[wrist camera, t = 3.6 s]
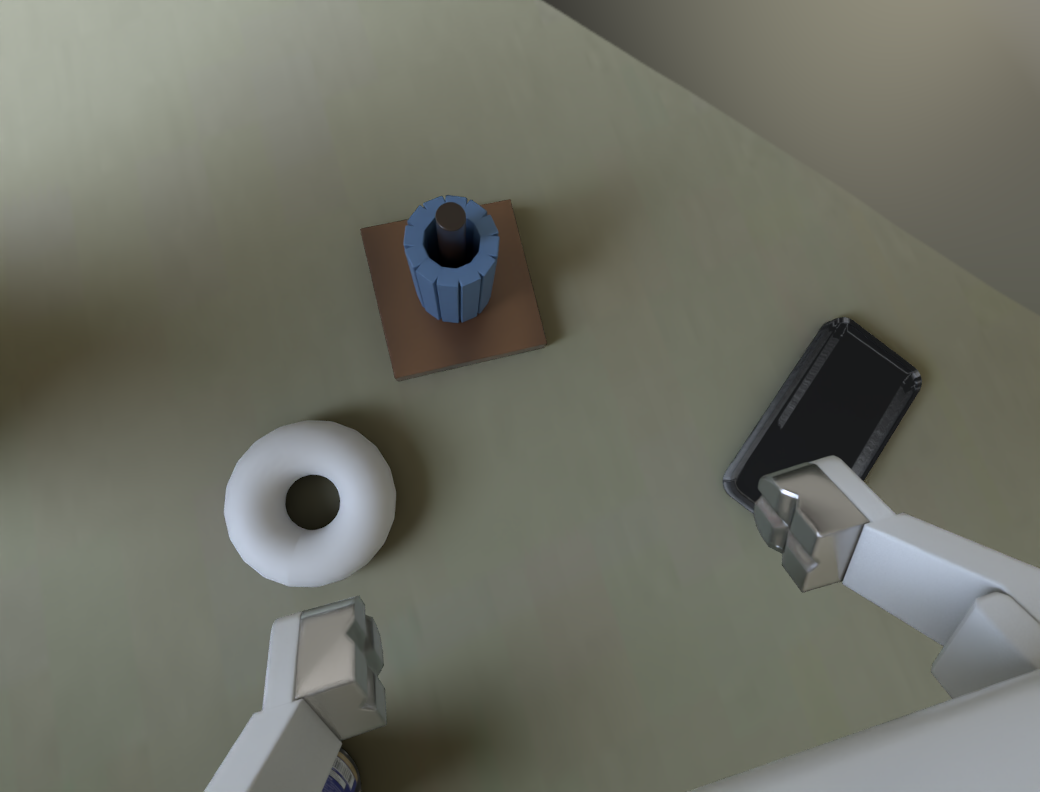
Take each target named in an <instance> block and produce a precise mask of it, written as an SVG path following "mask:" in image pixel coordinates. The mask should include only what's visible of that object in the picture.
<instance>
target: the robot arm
mask: <svg viewBox="0 0 1040 792" xmlns="http://www.w3.org/2000/svg"><path fill="white" fill-rule="evenodd" d="M758 490H759V491H760V492H761V494H762V495H761V496H760V498H759V499H758V500H757V501H756V502H755V505H754V513H753V514H754V518H755V522H756V526H757V529H758V531H759V533H760V535H761V537H762V538H763V539H764V541H765V542H766V544H767V545H768V547H770V548H772V549H774V550H776V551H778V552H780V553H782V566H783V567H784V569H785V570H786V571H787V573H788V574H789V576H790V577H791V578H792V580H793V581H794V582H795V584H796V585H797V587H798V588H799V589H800V591H801V592H802V593H803V592H806V591H810V590H813V589H817V588H820V587H824V586H827V585H831V584H834V583H838V582H841V581H843V582H842V584H843V585H845V586H847V587H848V588H850V589H852V590H853V591H855V592H856V593H858V594H860V595H861V596H863V597H865V598H866V599H868V600H869V601H871V602H873V603H874V604H876V605H878V606H879V607H881V608H882V609H884V610H886V611H887V612H889V613H890V614H892V615H894V616H895V617H897V618H899V619H900V620H902V621H903V622H905V623H907V624H908V625H910V626H912V627H913V628H915V629H916V630H918V631H920V632H921V633H923V634H925V635H926V636H928V637H929V638H931V639H933V640H934V641H936V642H938V643H939V644H941V645H942V646H944V647H943V648H942V650H941V651H940V653H939V654H938V656H937V657H936V659H935V660H934V662H933V663H932V668H931V673H932V674H933V675H934V677H935V678H936V679H937V680H938V682H939V683H940V684H941V685H942V687H943V688H944V689H945V690H946V692H947V693H948V694H949V695H950V697H951V698H952V699H951V700H948V701H945V702H942V703H939V704H936V705H933V706H930V707H928V708H925V709H922V710H919V711H916V712H913V713H910V714H908V715H905V716H902V717H899V718H896V719H893V720H890V721H887V722H885V723H882V724H879V725H876V726H873V727H870V728H867V729H864V730H862V731H859V732H856V733H853V734H850V735H847V736H844V737H841V738H839V739H836V740H833V741H830V742H827V743H824V744H821V745H818V746H816V747H813V748H810V749H807V750H804V751H801V752H798V753H796V754H793V755H790V756H787V757H784V758H781V759H778V760H775V761H773V762H770V763H767V764H764V765H761V766H758V767H755V768H752V769H750V770H747V771H744V772H741V773H738V774H735V775H732V776H729V777H727V778H724V779H721V780H718V781H715V782H712V783H709V784H707V785H704V786H701V787H698V788H695V789H692V790H689V791H686V792H1040V568H1037V567H1035V566H1032V565H1030V564H1027V563H1025V562H1023V561H1020V560H1018V559H1015V558H1013V557H1010V556H1008V555H1006V554H1003V553H1001V552H998V551H996V550H993V549H991V548H989V547H986V546H984V545H981V544H979V543H976V542H974V541H972V540H969V539H967V538H964V537H962V536H959V535H957V534H955V533H952V532H950V531H947V530H945V529H942V528H940V527H938V526H935V525H933V524H930V523H928V522H925V521H923V520H921V519H918V518H916V517H913V516H911V515H908V514H906V513H904V512H903V513H899V514H896V513H895V512H894V511H893V510H892V509H891V508H890V507H889V506H888V505H887V504H886V503H885V502H884V501H883V500H882V499H881V498H880V497H879V496H878V495H877V494H876V493H875V492H874V491H873V490H872V489H871V488H870V487H869V486H868V485H867V484H866V483H865V482H864V481H863V480H861V479H860V478H859V477H858V476H857V475H856V474H855V473H854V472H853V471H852V470H851V469H850V468H849V467H848V466H847V465H846V464H845V463H844V462H843V461H842V460H841V459H840V458H838V457H836V456H834V455H832V456H827V457H824V458H821V459H817V460H814V461H811V462H805V463H802V464H799V465H795V466H792V467H789V468H786V469H783V470H779V471H776V472H773V473H770V474H767V475H763V476H762V477H761V478H760V480H759V483H758ZM383 666H384V660H383V649H382V643H381V638H380V634H379V631H378V628H377V625H376V623H375V621H374V619H373V618H372V617H370V616H367V615H365V604H364V602H363V601H362V599H361V598H360V596H355V597H352V598H348V599H344V600H341V601H337V602H334V603H330V604H326V605H323V606H319V607H316V608H312V609H308V610H304V611H300V612H297V613H294V614H290V615H287V616H283V617H280V618H277V619H275V622H274V624H273V627H272V629H271V637H270V646H269V655H268V663H267V672H266V681H265V690H264V699H263V708H262V711H259V712H256V713H254V714H253V715H252V717H251V719H250V720H249V722H248V723H247V725H246V726H245V728H244V730H243V731H242V733H241V734H240V736H239V737H238V739H237V740H236V742H235V744H234V745H233V747H232V748H231V750H230V751H229V753H228V755H227V756H226V758H225V759H224V761H223V762H222V764H221V766H220V767H219V769H218V770H217V772H216V773H215V775H214V777H213V778H212V780H211V781H210V783H209V784H208V786H207V787H206V789H205V791H204V792H322V789H323V787H324V785H325V783H326V780H327V778H328V776H329V773H330V771H331V769H332V766H333V764H334V762H335V759H336V757H337V755H338V752H339V750H340V748H341V745H342V742H341V741H342V740H345V739H348V738H351V737H354V736H357V735H359V734H362V733H365V732H368V731H371V730H374V729H377V728H380V727H382V726H385V725H387V717H386V696H385V688H384V686H383V684H382V683H381V681H380V680H379V678H378V675H379V673H380V671H381V669H382V668H383Z"/></svg>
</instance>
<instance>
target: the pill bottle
mask: <svg viewBox="0 0 1040 792" xmlns="http://www.w3.org/2000/svg"><path fill="white" fill-rule="evenodd" d="M322 792H361V781H360V774H359V771H358V768H357V766H356V764H355V763H354V761H353V759H352V758H351V757H350V756H349V755H348V753H347V752H346V751H345V750H343V749H342V748H340V750H339V752H338V755H337V757H336V759H335V762H334V764H333V766H332V769H331V771H330V773H329V776H328V778H327V780H326V783H325V785H324V787H323V789H322Z"/></svg>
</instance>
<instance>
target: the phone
mask: <svg viewBox="0 0 1040 792" xmlns="http://www.w3.org/2000/svg"><path fill="white" fill-rule="evenodd" d="M921 385H922V379H921V375H920V373H919V372H918V370H917V369H916V368H915V367H913V366H912V365H911V364H909V363H908V362H907V361H906V360H904V359H903V358H902V357H900V356H899V355H898V354H896V353H895V352H894V351H892V350H891V349H890V348H888V347H887V346H886V345H885V344H883V343H882V342H881V341H879V340H878V339H877V338H875V337H874V336H873V335H871V334H870V333H869V332H867V331H866V330H865V329H864V328H862V327H861V326H860V325H858V324H857V323H856V322H854V321H853V320H851V319H849V318H845V317H841V318H837V319H834V320H832V321H829V322H827V323H825V324H824V325H823V326H822V327H821V329H820V330H819V332H818V333H817V335H816V336H815V338H814V339H813V341H812V342H811V344H810V345H809V347H808V348H807V350H806V351H805V353H804V354H803V356H802V357H801V359H800V360H799V362H798V363H797V365H796V366H795V368H794V369H793V371H792V372H791V374H790V375H789V377H788V378H787V380H786V381H785V383H784V384H783V386H782V387H781V389H780V390H779V392H778V394H777V395H776V397H775V398H774V400H773V401H772V403H771V404H770V406H769V407H768V409H767V410H766V412H765V413H764V415H763V416H762V418H761V419H760V421H759V422H758V424H757V425H756V427H755V428H754V430H753V431H752V433H751V434H750V436H749V437H748V439H747V440H746V442H745V443H744V445H743V446H742V448H741V449H740V451H739V452H738V454H737V455H736V457H735V458H734V460H733V461H732V463H731V464H730V466H729V467H728V469H727V470H726V472H725V474H724V476H723V486H724V489H725V491H726V492H727V493H728V495H729V496H731V497H732V498H733V499H735V500H736V501H737V502H739V503H740V504H741V505H743V506H744V507H745V508H747V509H748V510H749V511H751V512H752V513H754V505H755V502H756V501H757V500H758V499H759V498H760V496H761V495H762V494H761V492H760V491H759V490H758V483H759V480H760V478H761V477H762V476H763V475H767V474H770V473H773V472H776V471H779V470H783V469H786V468H789V467H792V466H795V465H799V464H802V463H805V462H811V461H814V460H817V459H821V458H824V457H827V456H832V455H834V456H836V457H838V458H840V459H841V460H842V461H843V462H844V463H845V464H846V465H847V466H848V467H849V468H850V469H851V470H852V471H853V472H854V473H855V474H856V475H857V476H858V477H859V478H860V479H861V480H863V481H864V479H865V478H866V476H867V475H868V473H869V471H870V470H871V468H872V467H873V465H874V463H875V462H876V460H877V458H878V457H879V455H880V454H881V452H882V450H883V449H884V447H885V446H886V444H887V442H888V441H889V439H890V437H891V436H892V434H893V433H894V431H895V429H896V428H897V426H898V425H899V423H900V421H901V420H902V418H903V416H904V415H905V413H906V412H907V410H908V408H909V407H910V405H911V404H912V402H913V400H914V399H915V397H916V395H917V394H918V392H919V391H920V388H921Z"/></svg>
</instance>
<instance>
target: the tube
mask: <svg viewBox="0 0 1040 792" xmlns="http://www.w3.org/2000/svg"><path fill="white" fill-rule="evenodd" d="M447 202H454V203H457V204H459V205H460V206H461V207H462V208H463V209H464V211H465V213H466V261H465V265H464V266H461V267H459V268H448V267H442V266H441V262H440V254H439V245H438V236H437V227H436V219H435V214H436V211H437V209H438V208H439V206H441V205H442V204H444V203H447ZM423 206H424V208H423V207H422V206H419V207H418V208H417V209H416V210H415V212H414V213H413V214H412V216H411V217H410V218H409V219H408V221H407V223H408V225H406V227H405V235H404V248H405V254H406V258H407V261H408V265H409V268H410V272H411V275H412V279H413V282H414V286H415V289H416V293H417V295H418V298H419V300H420V302H421V304H422V306H423V307H424V308H425V310H426V311H427V312H428V313H429V314H431V315H432V316H434V317H435V318H437V319H438V320H440V319H441V317H442V321H443V322H452V323H459V319H460V320H461V322H465V321H467V320H470V319H472V318H474V317H477V313H479V314H480V313H481V312H482V310H483V309H484V308H485V306H486V305H487V304H488V302H489V298H490V297H491V292H492V286H493V281H494V275H495V270H496V264H497V259H498V251H499V240H500V237H499V236H498V234H499V232H498V229H497V227H496V225H495V223H494V221H493V219H492V217H491V215H487V210H485V209H484V208H482V207H481V206H480V205H478V204H477V203H475V202H474V201H473V200H470V201H469V202H468V203H467V198H466V197H459V196H451V195H446V199H445V200H444V198H443V196H440V197H437V198H435V199H432V200H430V201H427V202H425V203H423Z"/></svg>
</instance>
